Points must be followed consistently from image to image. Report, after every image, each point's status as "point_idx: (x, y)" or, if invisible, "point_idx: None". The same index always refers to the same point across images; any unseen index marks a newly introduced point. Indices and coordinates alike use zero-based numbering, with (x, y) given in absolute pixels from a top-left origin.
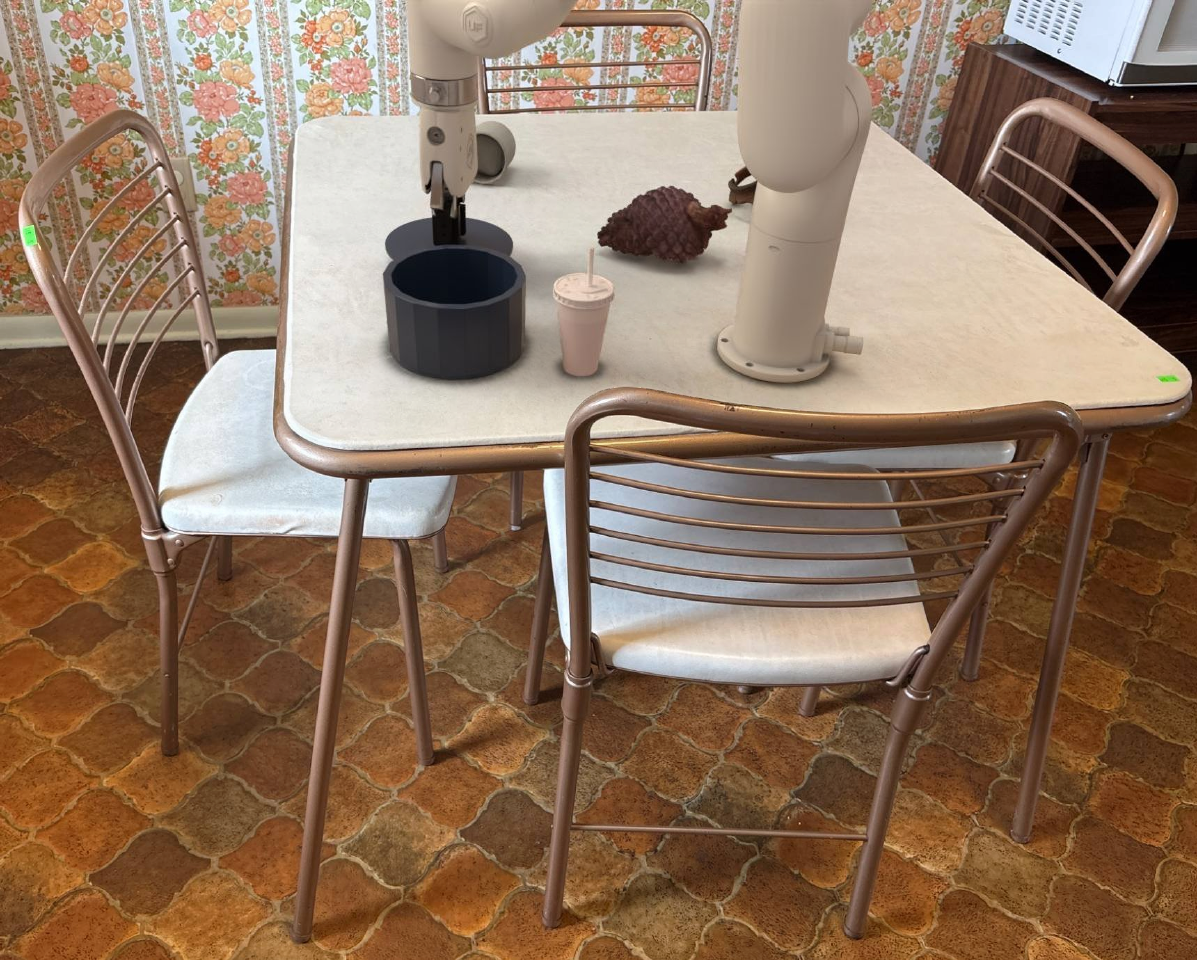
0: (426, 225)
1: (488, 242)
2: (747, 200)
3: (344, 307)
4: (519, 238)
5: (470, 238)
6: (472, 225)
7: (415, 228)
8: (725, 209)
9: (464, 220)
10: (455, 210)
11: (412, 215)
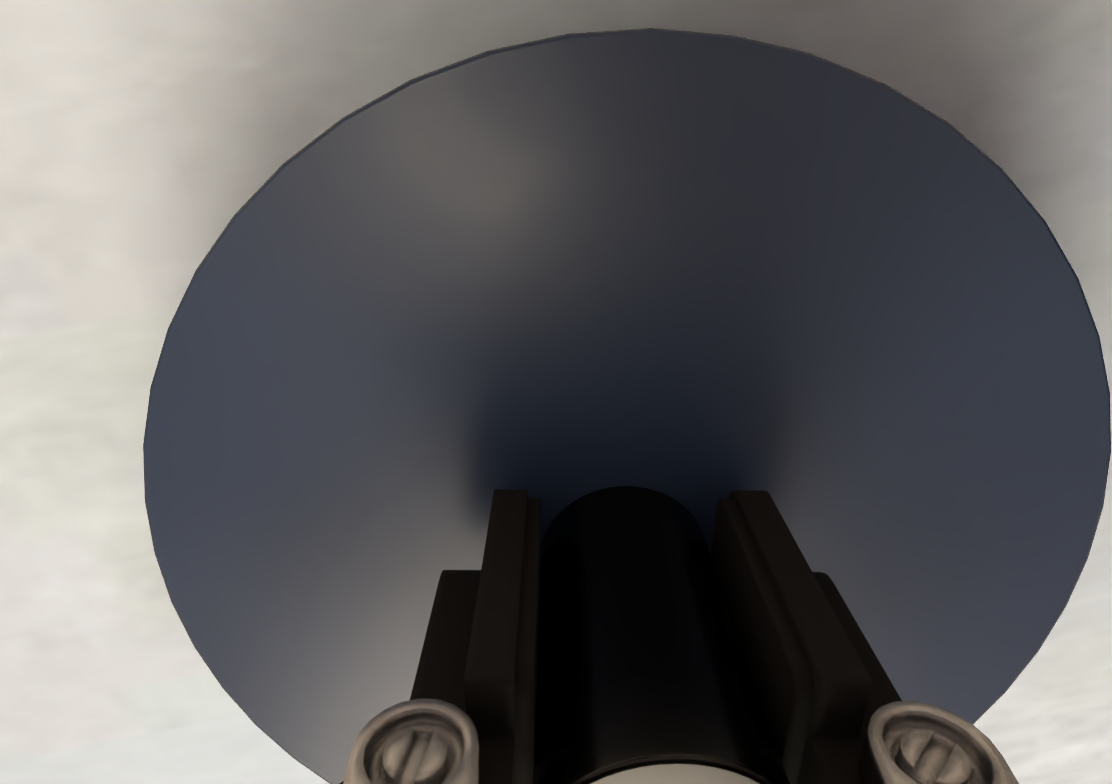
0: None
1: (561, 283)
2: None
3: (1093, 779)
4: (34, 97)
5: (520, 435)
6: (274, 467)
7: None
8: None
9: (520, 567)
10: (910, 780)
11: (56, 750)
